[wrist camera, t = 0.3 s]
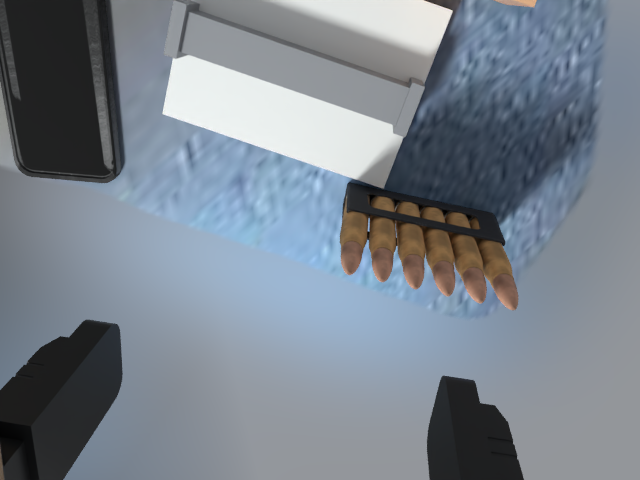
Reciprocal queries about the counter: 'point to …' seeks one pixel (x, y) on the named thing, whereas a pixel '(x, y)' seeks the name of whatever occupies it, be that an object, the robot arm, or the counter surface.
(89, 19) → the phone
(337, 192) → the counter surface
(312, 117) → the rail board
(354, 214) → the ammunition clip
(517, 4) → the block
